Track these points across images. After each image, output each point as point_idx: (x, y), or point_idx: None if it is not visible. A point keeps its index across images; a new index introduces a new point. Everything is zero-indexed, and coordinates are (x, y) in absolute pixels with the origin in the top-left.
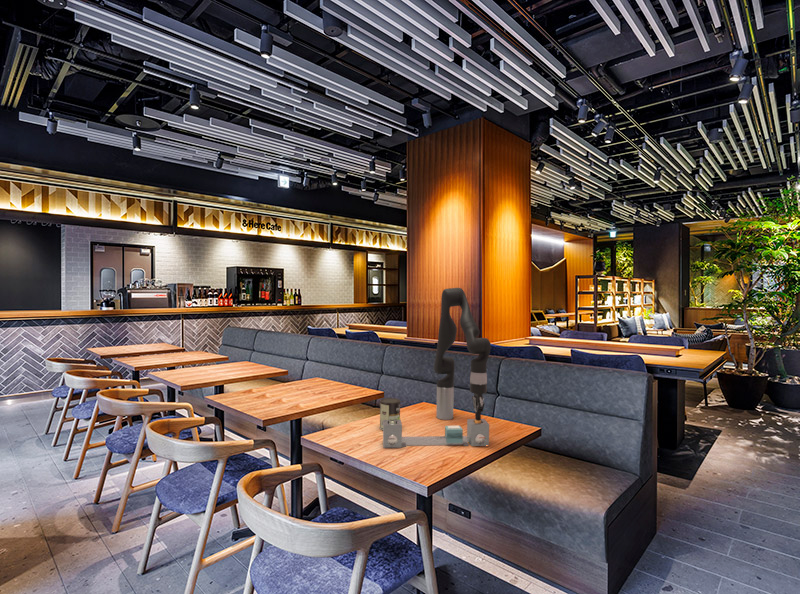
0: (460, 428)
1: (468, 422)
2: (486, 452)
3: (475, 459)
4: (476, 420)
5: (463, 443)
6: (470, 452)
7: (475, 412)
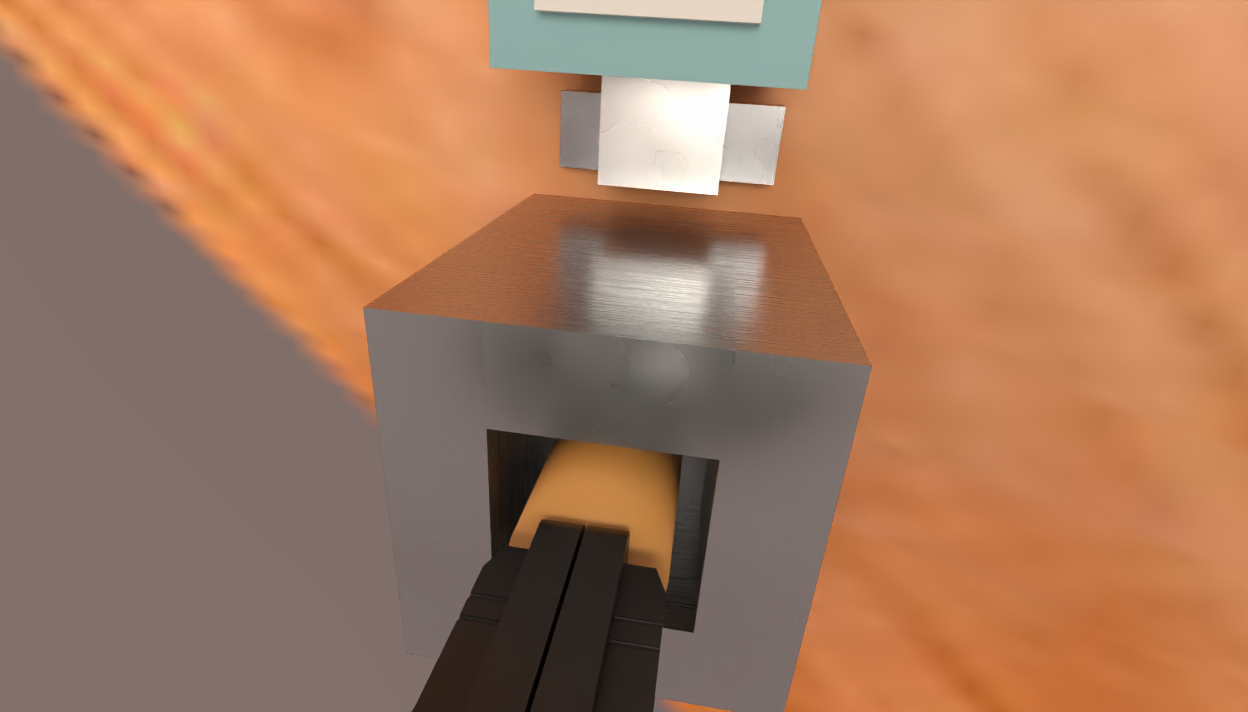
0: (581, 30)
1: (711, 326)
2: (350, 322)
3: (107, 103)
4: (530, 515)
5: (599, 93)
6: (329, 113)
7: (563, 699)
